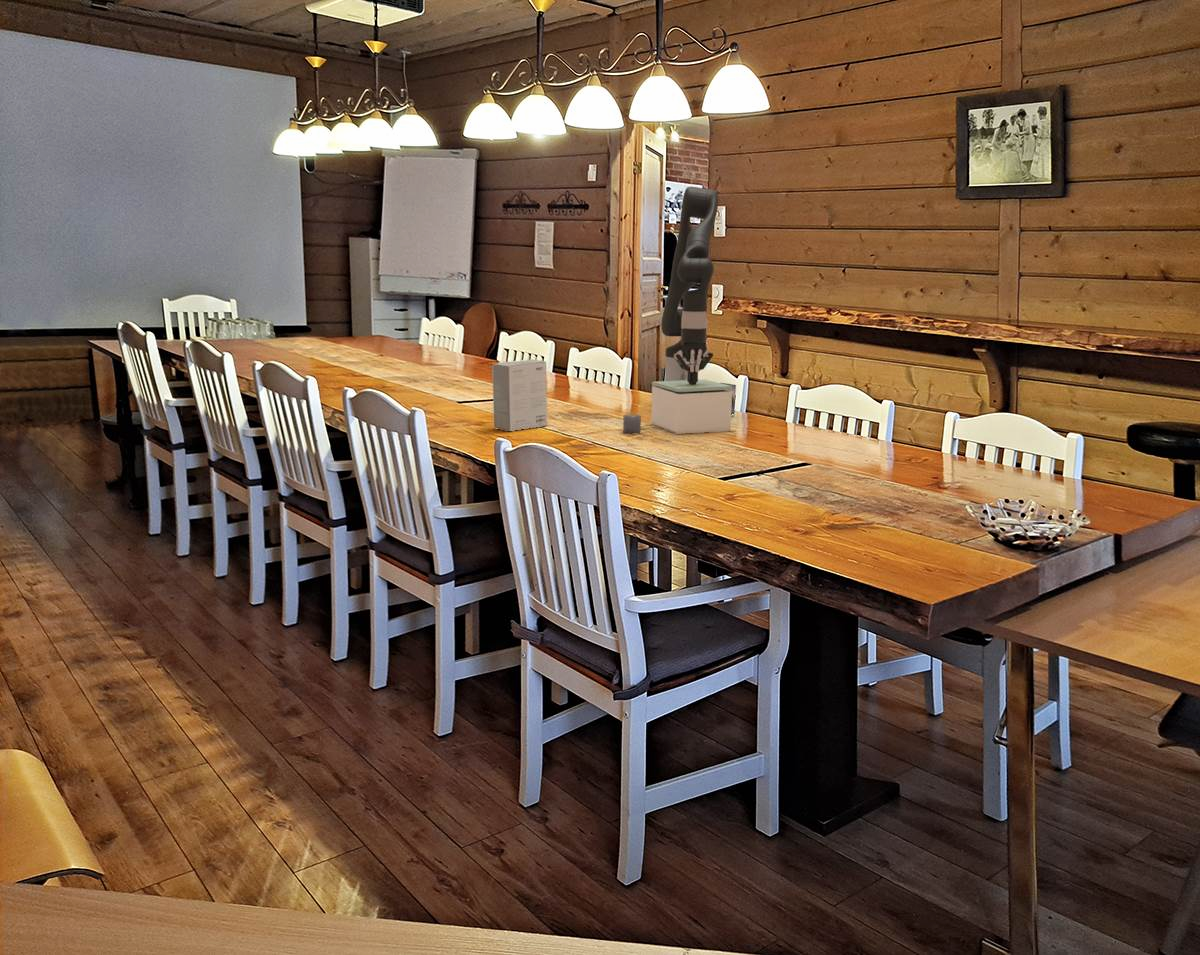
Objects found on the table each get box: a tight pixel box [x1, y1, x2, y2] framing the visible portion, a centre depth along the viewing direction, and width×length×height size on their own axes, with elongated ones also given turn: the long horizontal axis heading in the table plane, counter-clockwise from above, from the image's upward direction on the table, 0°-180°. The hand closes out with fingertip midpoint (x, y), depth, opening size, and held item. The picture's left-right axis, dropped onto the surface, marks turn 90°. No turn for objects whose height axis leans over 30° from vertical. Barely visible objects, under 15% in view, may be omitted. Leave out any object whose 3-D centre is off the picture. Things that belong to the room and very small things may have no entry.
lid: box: [651, 379, 732, 392], centre depth 322 cm, size 18×18×1 cm
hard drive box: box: [491, 358, 548, 432], centre depth 320 cm, size 16×8×20 cm, turn 135°
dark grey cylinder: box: [622, 413, 642, 435], centre depth 316 cm, size 5×5×5 cm
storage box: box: [650, 385, 732, 435], centre depth 323 cm, size 18×18×12 cm
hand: (692, 384), depth 320 cm, fingers closed
